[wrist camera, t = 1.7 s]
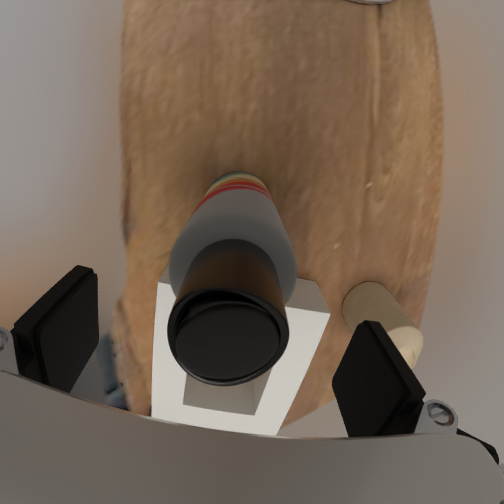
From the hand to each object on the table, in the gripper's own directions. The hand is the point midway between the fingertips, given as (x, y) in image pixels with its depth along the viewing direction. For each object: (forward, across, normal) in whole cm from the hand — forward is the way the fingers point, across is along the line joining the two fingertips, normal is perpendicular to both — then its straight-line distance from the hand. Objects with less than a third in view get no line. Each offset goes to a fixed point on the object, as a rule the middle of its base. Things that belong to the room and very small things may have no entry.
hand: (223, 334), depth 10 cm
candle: (+19, -16, +7) cm, 25 cm away
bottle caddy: (+19, -2, +15) cm, 24 cm away
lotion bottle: (+19, 0, -1) cm, 19 cm away
